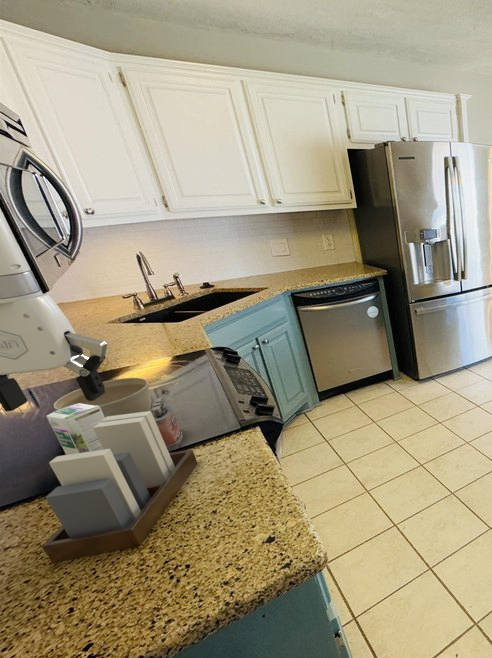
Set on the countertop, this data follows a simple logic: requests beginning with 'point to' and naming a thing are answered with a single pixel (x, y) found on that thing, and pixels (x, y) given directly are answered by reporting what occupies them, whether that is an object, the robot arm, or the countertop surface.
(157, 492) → the book caddy
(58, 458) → the thin white book
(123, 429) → the white books
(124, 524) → the grey books
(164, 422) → the lighter
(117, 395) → the planter bowl
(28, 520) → the countertop surface
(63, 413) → the syrup box
